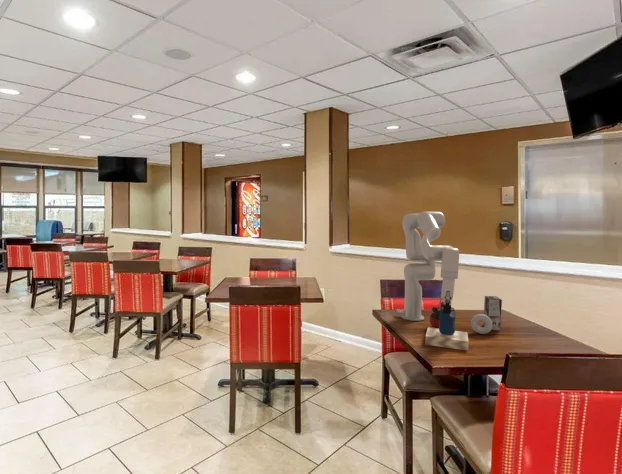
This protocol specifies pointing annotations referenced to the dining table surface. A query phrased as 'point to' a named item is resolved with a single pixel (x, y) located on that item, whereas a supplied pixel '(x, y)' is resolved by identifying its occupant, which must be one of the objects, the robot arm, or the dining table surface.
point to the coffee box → (493, 310)
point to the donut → (477, 328)
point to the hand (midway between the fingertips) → (447, 310)
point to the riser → (447, 339)
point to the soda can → (447, 322)
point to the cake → (436, 315)
